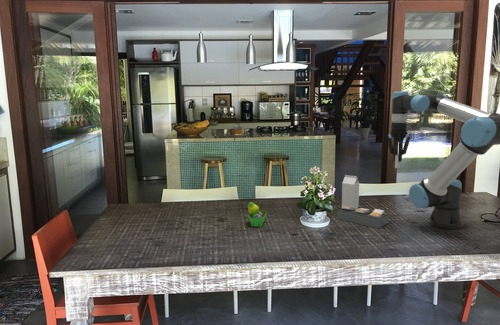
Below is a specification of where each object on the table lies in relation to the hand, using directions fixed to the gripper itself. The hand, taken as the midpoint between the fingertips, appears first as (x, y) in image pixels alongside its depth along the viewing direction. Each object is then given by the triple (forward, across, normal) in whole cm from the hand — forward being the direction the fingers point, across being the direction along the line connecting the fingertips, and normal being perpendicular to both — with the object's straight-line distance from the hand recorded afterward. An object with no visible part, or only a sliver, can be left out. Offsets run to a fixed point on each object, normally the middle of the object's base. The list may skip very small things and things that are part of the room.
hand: (397, 167), depth 208 cm
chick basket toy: (+27, +48, +56) cm, 78 cm away
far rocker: (+21, +18, +18) cm, 33 cm away
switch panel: (+26, +10, +18) cm, 33 cm away
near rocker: (+21, +2, +18) cm, 28 cm away
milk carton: (+27, +26, +1) cm, 37 cm away
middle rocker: (+21, +10, +18) cm, 30 cm away
